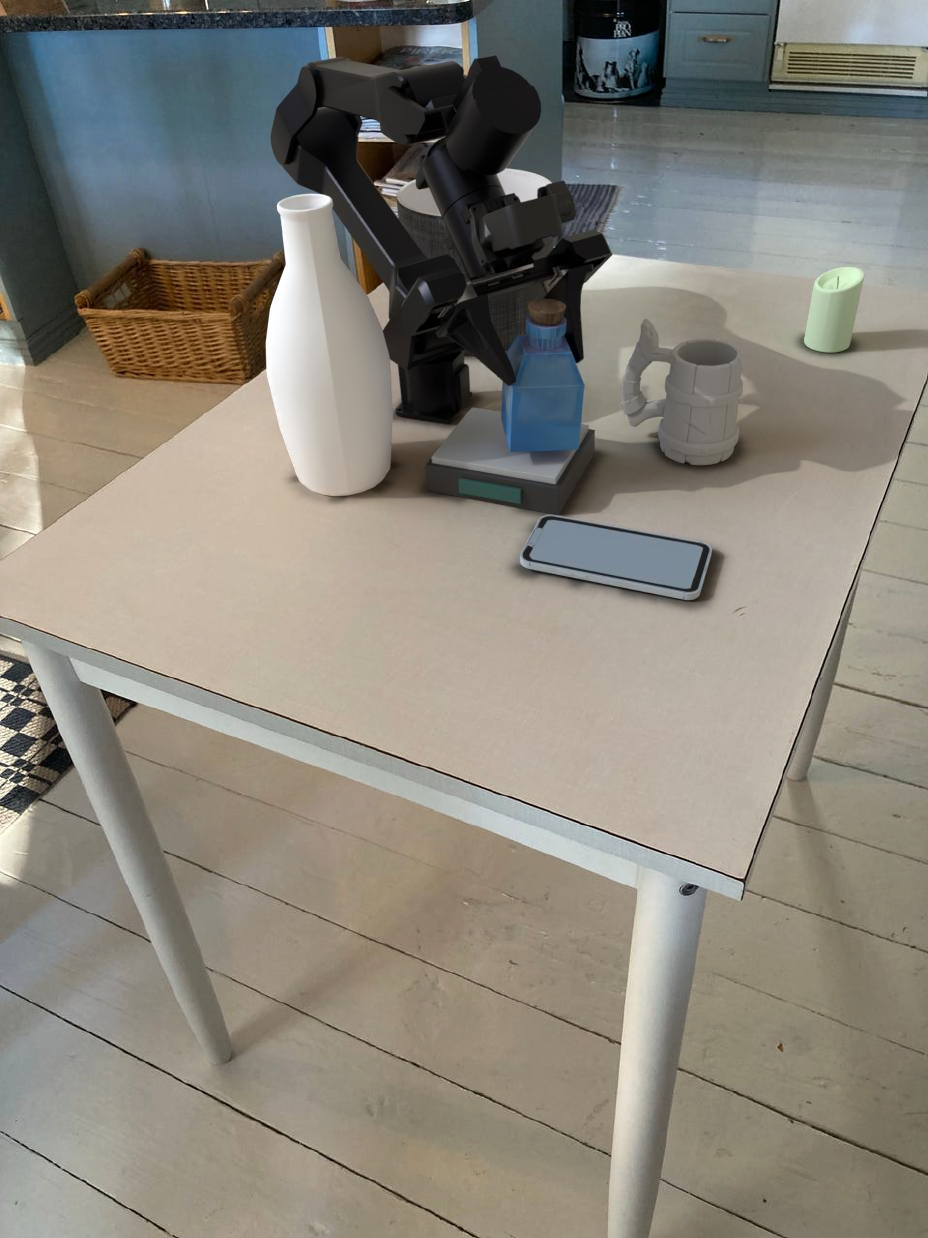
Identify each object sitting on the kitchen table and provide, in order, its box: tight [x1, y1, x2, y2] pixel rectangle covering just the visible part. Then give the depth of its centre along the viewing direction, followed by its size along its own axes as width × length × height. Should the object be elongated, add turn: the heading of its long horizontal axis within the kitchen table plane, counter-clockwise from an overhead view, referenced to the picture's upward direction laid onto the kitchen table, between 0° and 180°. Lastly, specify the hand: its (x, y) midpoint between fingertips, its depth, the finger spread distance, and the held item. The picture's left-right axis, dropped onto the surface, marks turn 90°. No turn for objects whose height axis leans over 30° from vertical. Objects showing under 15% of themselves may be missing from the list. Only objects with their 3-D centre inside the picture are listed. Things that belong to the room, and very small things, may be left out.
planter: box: [395, 167, 555, 356], centre depth 117 cm, size 18×18×16 cm
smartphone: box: [519, 514, 713, 601], centre depth 83 cm, size 7×1×15 cm
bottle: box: [265, 193, 394, 497], centre depth 88 cm, size 11×11×25 cm
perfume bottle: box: [500, 299, 586, 452], centre depth 87 cm, size 6×6×12 cm
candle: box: [803, 266, 865, 354], centre depth 110 cm, size 5×5×8 cm
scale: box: [424, 406, 596, 516], centre depth 94 cm, size 13×11×4 cm
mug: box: [620, 318, 744, 466], centre depth 94 cm, size 8×12×12 cm, turn 65°
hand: (546, 372), depth 85 cm, fingers closed on perfume bottle, 7 cm apart
